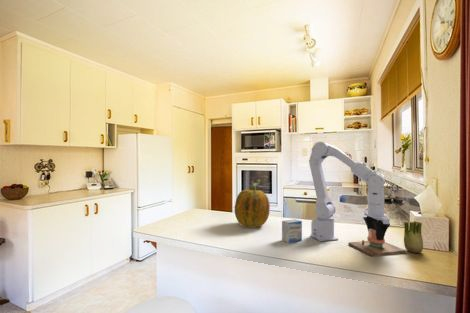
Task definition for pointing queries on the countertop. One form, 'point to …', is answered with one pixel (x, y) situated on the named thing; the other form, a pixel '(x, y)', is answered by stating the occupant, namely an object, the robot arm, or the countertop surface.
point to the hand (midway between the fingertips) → (375, 237)
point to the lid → (374, 237)
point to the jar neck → (375, 245)
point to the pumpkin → (252, 207)
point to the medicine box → (292, 230)
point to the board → (372, 251)
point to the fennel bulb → (413, 237)
